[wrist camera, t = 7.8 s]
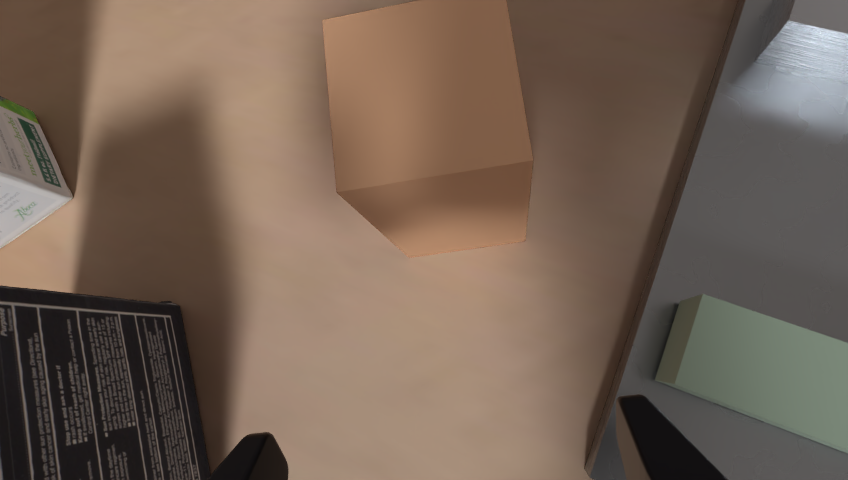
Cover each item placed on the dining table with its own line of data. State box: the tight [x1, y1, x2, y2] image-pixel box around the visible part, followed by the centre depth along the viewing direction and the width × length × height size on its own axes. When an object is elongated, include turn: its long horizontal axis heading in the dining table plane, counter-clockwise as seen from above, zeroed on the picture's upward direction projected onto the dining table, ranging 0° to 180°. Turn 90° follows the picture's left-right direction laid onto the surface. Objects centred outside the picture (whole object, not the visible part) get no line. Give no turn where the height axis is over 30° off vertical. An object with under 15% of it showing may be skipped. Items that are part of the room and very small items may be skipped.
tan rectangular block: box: [322, 0, 533, 258], centre depth 19 cm, size 5×5×10 cm
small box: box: [0, 286, 210, 480], centre depth 19 cm, size 11×6×10 cm, turn 16°
